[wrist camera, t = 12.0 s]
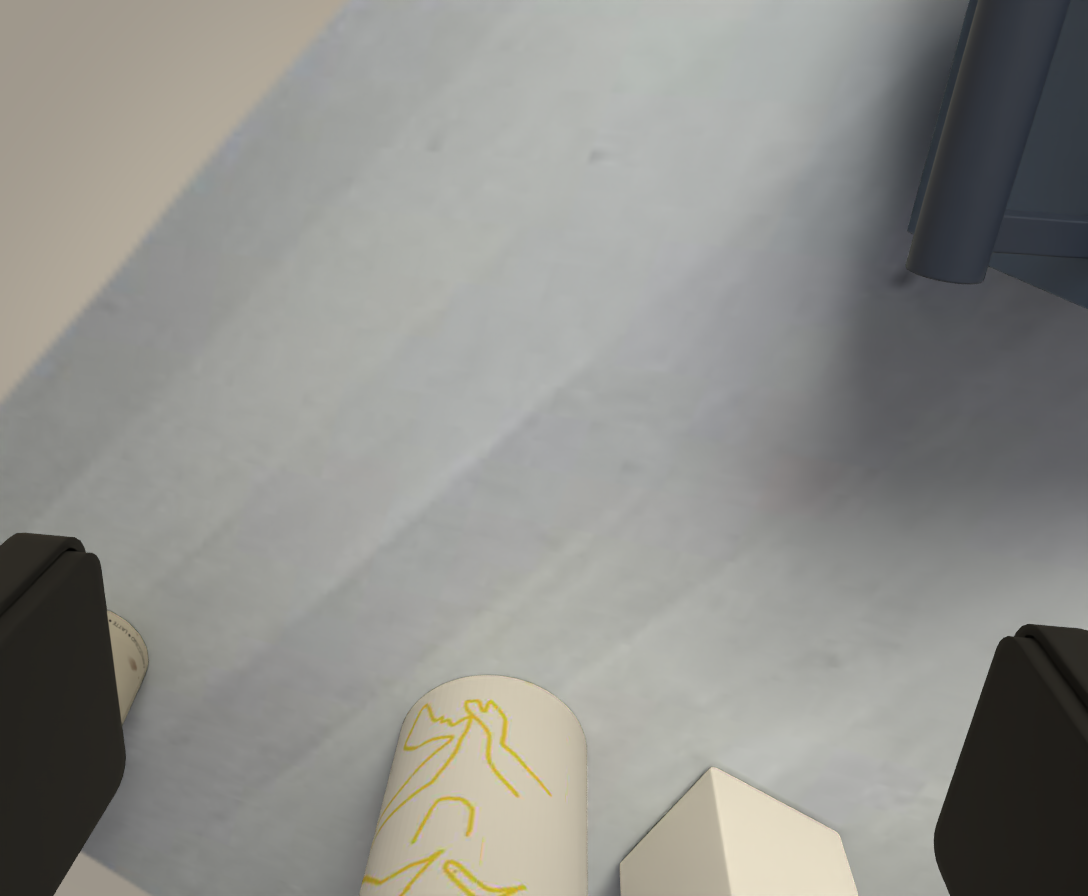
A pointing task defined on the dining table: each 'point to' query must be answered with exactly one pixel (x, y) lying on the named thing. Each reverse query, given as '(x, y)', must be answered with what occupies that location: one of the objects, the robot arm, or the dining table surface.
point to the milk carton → (736, 848)
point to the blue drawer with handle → (1010, 152)
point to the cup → (484, 796)
